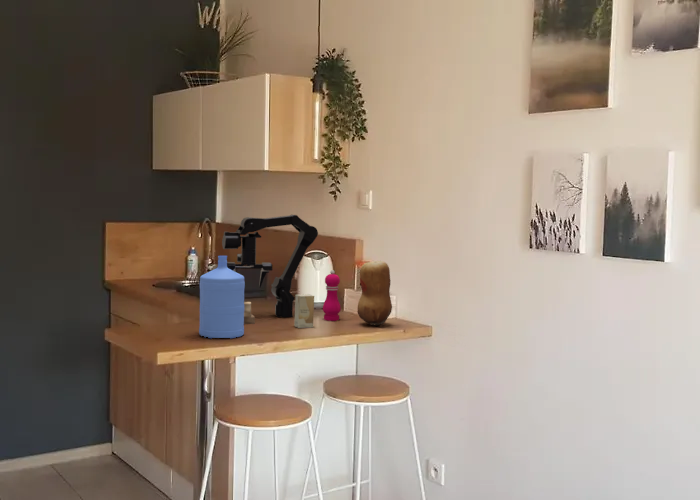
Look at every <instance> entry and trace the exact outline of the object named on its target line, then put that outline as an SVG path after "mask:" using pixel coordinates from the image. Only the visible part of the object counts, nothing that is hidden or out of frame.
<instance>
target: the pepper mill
mask: <svg viewBox="0 0 700 500" xmlns="http://www.w3.org/2000/svg"><path fill="white" fill-rule="evenodd" d="M340 282H341V279H340V277H339V275H337V274H336V273H335V270H333V269H332V270H330V272H329V274H327V275H326V276H325V278H324V284H325V285H326V286H325V290H326V298H325V300H324V302H323V305H322V312H323V313H324V315H323V320H324V321H328V322H337V320H338V321H340V312H341V309H342V308H341V304H340V301H339V298H338V290H339V286H338V285H339V284H340Z"/></svg>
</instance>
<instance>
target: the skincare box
mask: <svg viewBox="0 0 700 500" xmlns="http://www.w3.org/2000/svg"><path fill="white" fill-rule="evenodd" d="M294 304H295V305H294V322H293V324H294V325H293V326H294V327H295V328H298V329H304V328H305V329H306V328H314V317H315V316H314V315H315V314H314V313H315V310H314V309H315V295H313V294H309V293H307V294H304V293H303V294H295V299H294Z"/></svg>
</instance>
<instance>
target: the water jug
mask: <svg viewBox="0 0 700 500" xmlns="http://www.w3.org/2000/svg"><path fill="white" fill-rule="evenodd" d="M227 259H228V255H218V256H217V267H216V268H214V269H212V270H210V271H208V272H206V273H204V274H202V275H201V276H200V277H199V328H198V334H199V336H201V337H202V336H204V337H203V338H206V337H208V338H207V339H212V338H230V339H235V338H236V337H237V338H240V337H242V336H243V335H244V334H245V326H244V325H245V324H244V302H245V287H246V285H245V284H246V283H245V276H244V275H242V274H241V273H238V272H235V271H236V270H235V271H233V270H231V269H229V268H228V267H227V262H228V260H227Z"/></svg>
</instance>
